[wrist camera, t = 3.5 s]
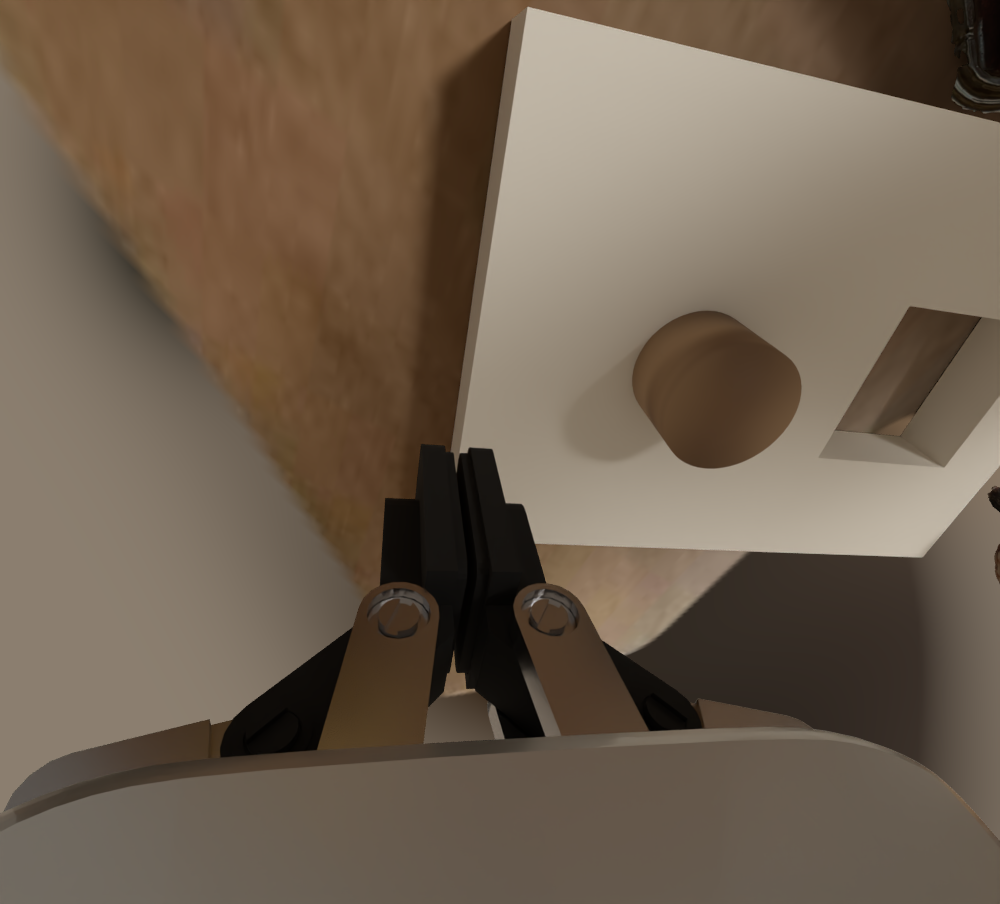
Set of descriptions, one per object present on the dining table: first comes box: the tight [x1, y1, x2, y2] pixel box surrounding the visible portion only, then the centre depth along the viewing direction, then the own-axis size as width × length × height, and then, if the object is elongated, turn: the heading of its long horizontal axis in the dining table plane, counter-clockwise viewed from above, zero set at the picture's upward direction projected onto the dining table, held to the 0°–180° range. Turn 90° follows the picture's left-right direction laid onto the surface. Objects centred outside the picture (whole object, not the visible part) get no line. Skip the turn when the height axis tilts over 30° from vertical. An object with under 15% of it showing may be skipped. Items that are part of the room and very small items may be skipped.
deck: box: [451, 7, 1000, 558], centre depth 24 cm, size 28×20×3 cm
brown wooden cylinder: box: [632, 311, 802, 469], centre depth 20 cm, size 5×5×4 cm
